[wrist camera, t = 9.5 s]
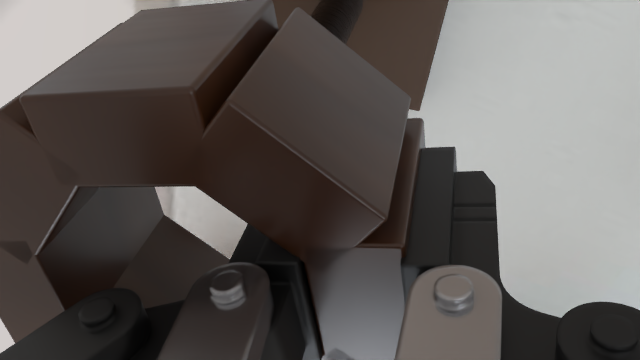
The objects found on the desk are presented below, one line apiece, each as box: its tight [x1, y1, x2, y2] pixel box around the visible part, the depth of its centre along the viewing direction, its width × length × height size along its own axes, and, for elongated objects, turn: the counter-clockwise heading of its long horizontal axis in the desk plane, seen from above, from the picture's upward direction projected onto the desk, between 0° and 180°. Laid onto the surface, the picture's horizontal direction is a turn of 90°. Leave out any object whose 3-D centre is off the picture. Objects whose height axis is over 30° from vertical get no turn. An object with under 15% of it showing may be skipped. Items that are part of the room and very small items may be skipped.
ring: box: [0, 0, 425, 360], centre depth 12 cm, size 8×8×4 cm
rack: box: [247, 0, 449, 111], centre depth 21 cm, size 8×8×11 cm
